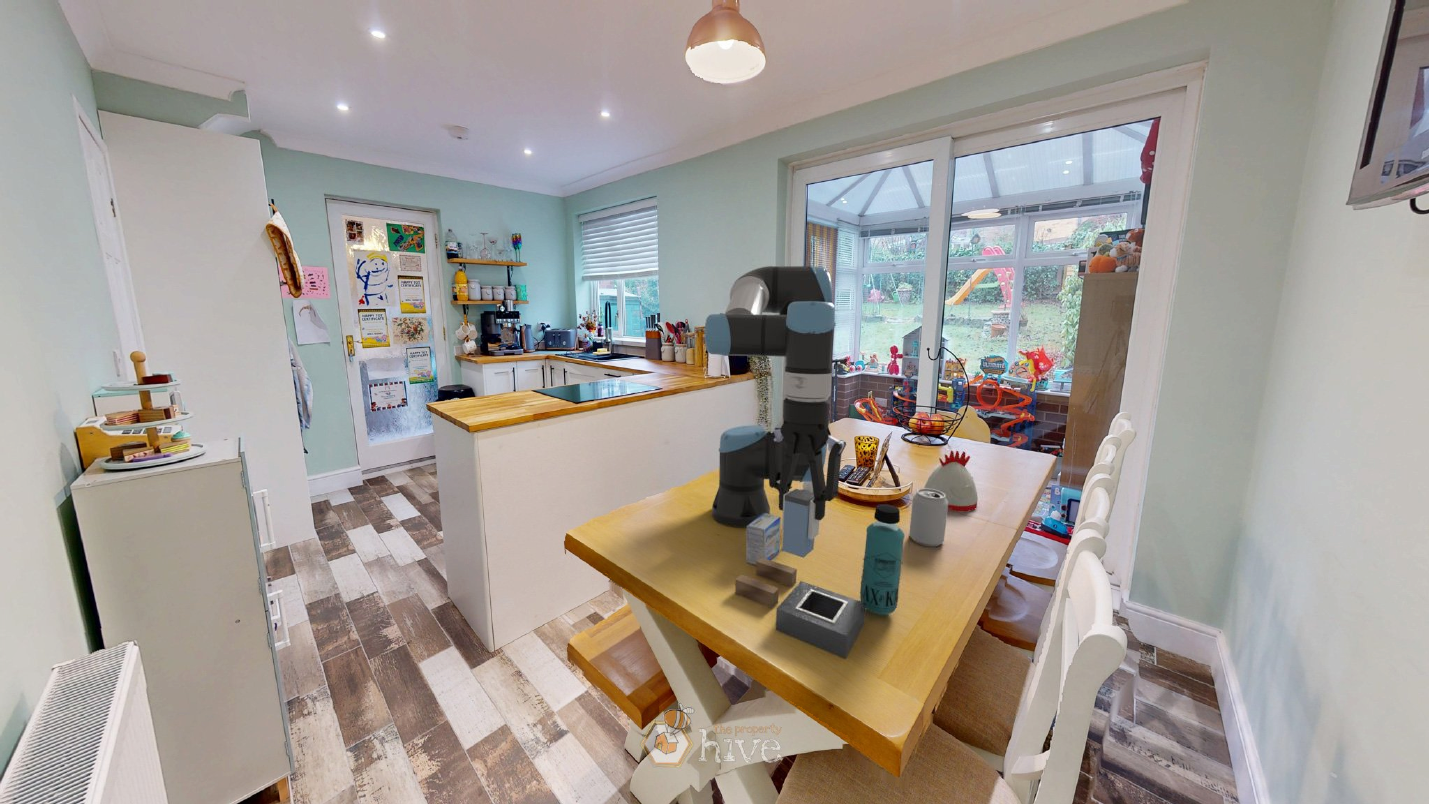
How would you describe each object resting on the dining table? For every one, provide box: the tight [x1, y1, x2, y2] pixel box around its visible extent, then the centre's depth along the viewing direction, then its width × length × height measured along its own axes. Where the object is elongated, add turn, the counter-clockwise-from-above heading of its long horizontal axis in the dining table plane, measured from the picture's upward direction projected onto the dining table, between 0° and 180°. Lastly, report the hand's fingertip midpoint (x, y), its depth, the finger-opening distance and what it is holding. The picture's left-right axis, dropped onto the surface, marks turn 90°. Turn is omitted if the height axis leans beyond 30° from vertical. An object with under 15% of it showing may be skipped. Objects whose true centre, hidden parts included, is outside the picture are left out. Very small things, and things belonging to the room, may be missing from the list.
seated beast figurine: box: [802, 474, 826, 493], centre depth 141 cm, size 10×9×12 cm
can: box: [909, 488, 949, 547], centre depth 112 cm, size 8×8×12 cm
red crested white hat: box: [924, 450, 979, 512], centre depth 134 cm, size 14×14×15 cm
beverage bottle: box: [859, 503, 905, 615], centre depth 84 cm, size 6×7×20 cm
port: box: [775, 580, 867, 659], centre depth 81 cm, size 12×10×4 cm
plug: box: [781, 488, 815, 559], centre depth 82 cm, size 4×4×10 cm
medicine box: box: [745, 513, 782, 566], centre depth 103 cm, size 8×4×9 cm, turn 148°
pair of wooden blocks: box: [734, 557, 798, 609], centre depth 92 cm, size 8×10×3 cm
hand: (800, 532), depth 82 cm, fingers closed on plug, 4 cm apart
